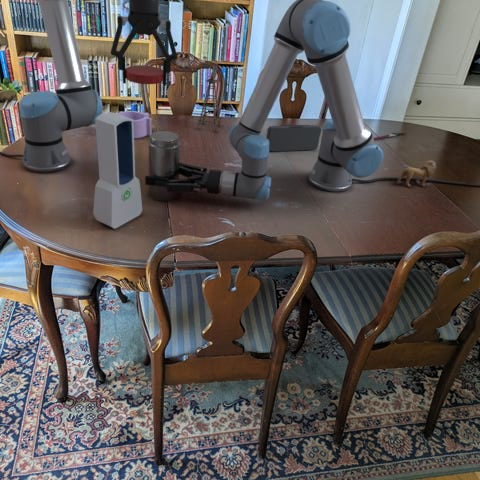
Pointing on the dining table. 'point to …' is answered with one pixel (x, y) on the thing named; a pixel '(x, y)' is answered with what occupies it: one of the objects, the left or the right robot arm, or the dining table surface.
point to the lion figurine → (418, 173)
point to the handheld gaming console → (293, 137)
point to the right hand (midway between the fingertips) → (150, 173)
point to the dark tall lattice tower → (211, 81)
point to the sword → (388, 135)
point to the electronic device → (116, 171)
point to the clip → (139, 122)
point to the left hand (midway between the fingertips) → (144, 83)
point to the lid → (144, 74)
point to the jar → (163, 162)
